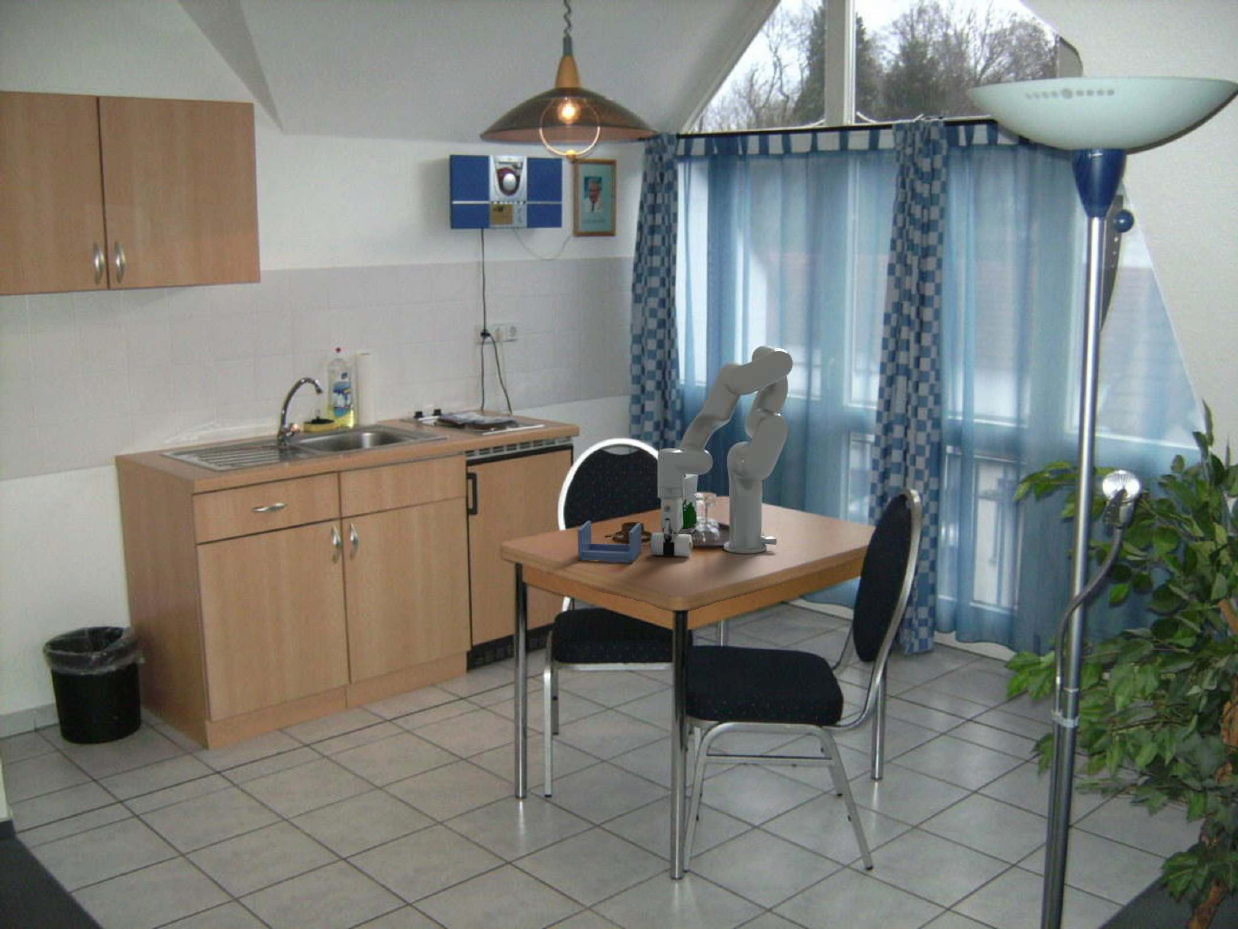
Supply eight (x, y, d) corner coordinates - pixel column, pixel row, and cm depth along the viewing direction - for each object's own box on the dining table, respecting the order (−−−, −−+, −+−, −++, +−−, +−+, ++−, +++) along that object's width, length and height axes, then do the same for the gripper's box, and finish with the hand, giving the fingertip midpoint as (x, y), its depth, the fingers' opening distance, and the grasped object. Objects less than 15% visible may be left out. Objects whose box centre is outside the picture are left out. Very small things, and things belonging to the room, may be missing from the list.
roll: (693, 553, 369) (693, 531, 368) (689, 559, 363) (689, 537, 362) (653, 551, 372) (653, 530, 370) (648, 557, 366) (648, 536, 364)
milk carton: (662, 533, 393) (662, 469, 389) (677, 526, 401) (676, 464, 397) (687, 536, 389) (687, 472, 385) (701, 530, 396) (701, 467, 392)
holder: (641, 553, 370) (641, 523, 368) (632, 563, 359) (632, 532, 358) (588, 550, 374) (587, 520, 372) (578, 560, 363) (577, 529, 361)
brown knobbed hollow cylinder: (668, 540, 387) (668, 521, 386) (629, 554, 371) (629, 534, 370) (622, 532, 397) (621, 513, 396) (582, 545, 382) (582, 526, 381)
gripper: (678, 498, 355) (678, 560, 358) (689, 486, 371) (689, 545, 375) (651, 497, 356) (652, 559, 360) (663, 485, 373) (664, 544, 376)
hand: (671, 551), depth 367 cm, fingers closed on roll, 6 cm apart
